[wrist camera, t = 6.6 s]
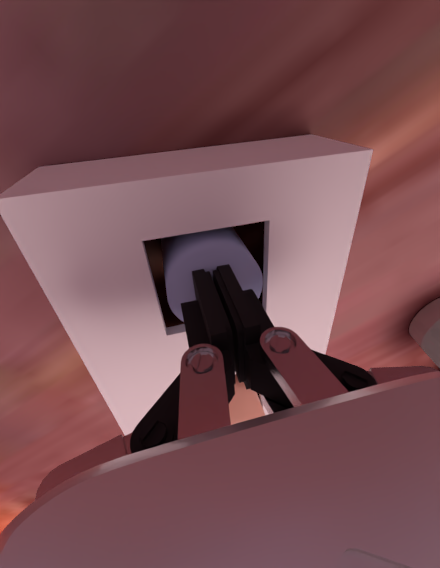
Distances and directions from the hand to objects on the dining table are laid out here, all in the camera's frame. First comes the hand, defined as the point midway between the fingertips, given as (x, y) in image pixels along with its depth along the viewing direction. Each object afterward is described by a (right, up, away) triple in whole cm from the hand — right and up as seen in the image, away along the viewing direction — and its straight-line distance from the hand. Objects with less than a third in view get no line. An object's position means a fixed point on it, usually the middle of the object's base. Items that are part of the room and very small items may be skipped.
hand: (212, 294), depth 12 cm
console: (0, -5, +10) cm, 11 cm away
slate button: (-1, +3, +4) cm, 5 cm away
